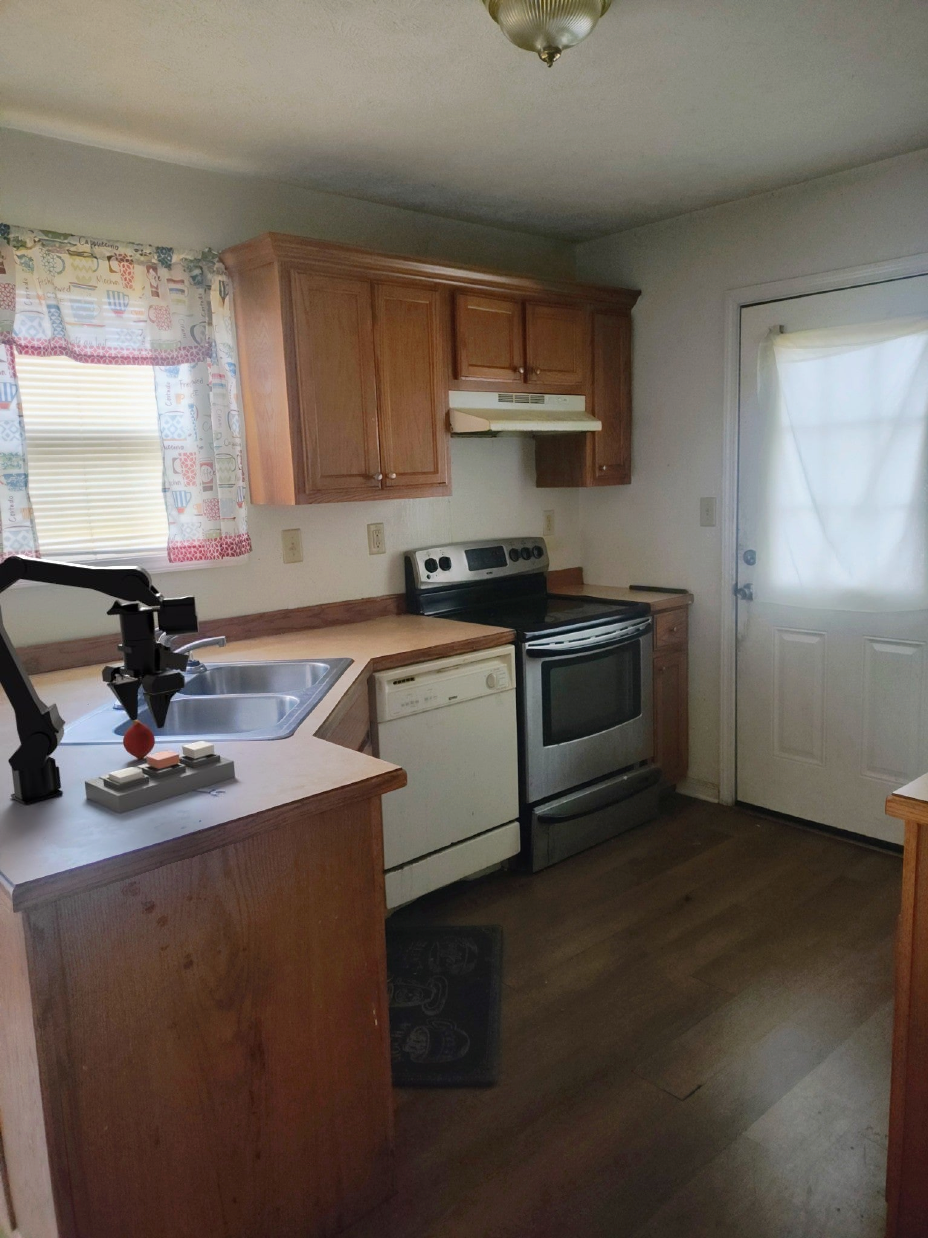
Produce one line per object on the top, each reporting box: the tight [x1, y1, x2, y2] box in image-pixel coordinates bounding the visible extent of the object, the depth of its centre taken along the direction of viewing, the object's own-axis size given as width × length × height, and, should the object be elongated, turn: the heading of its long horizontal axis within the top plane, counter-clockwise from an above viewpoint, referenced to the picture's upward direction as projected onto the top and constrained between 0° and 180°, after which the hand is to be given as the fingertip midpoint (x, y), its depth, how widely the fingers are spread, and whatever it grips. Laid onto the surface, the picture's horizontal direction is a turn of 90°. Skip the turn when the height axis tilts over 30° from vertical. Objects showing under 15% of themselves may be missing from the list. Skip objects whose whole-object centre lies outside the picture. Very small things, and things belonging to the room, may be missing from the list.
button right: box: [181, 740, 215, 758], centre depth 157 cm, size 4×4×2 cm
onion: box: [122, 719, 156, 760], centre depth 169 cm, size 6×6×8 cm
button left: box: [108, 766, 143, 784], centre depth 147 cm, size 4×4×2 cm
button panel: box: [84, 752, 236, 814], centre depth 153 cm, size 22×12×4 cm, turn 138°
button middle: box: [145, 750, 180, 769], centre depth 152 cm, size 4×4×2 cm
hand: (147, 723), depth 154 cm, fingers open, 9 cm apart
